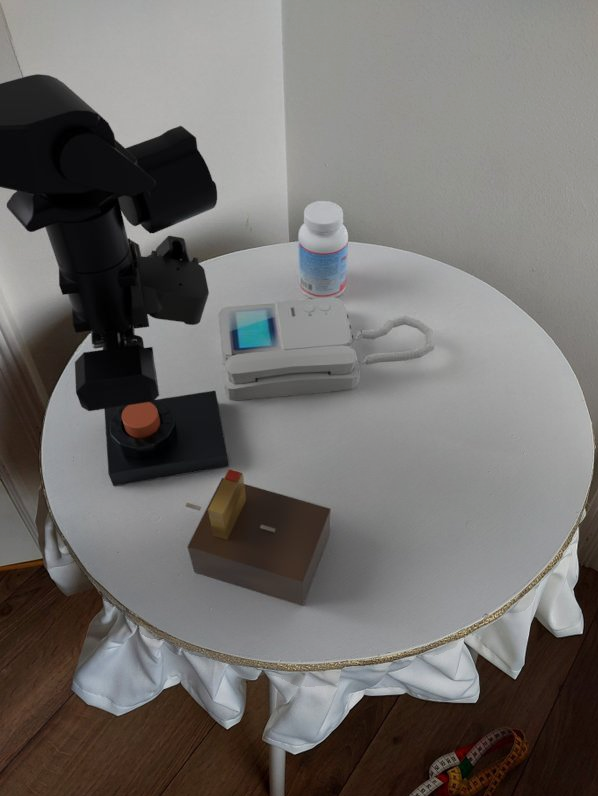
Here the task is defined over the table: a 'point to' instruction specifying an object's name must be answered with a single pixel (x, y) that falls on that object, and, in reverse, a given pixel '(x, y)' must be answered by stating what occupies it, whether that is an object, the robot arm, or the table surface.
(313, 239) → the pill bottle
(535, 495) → the table surface
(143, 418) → the arm button
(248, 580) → the brown box with slot
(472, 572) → the table surface
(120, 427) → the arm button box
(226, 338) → the intercom
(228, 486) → the block
